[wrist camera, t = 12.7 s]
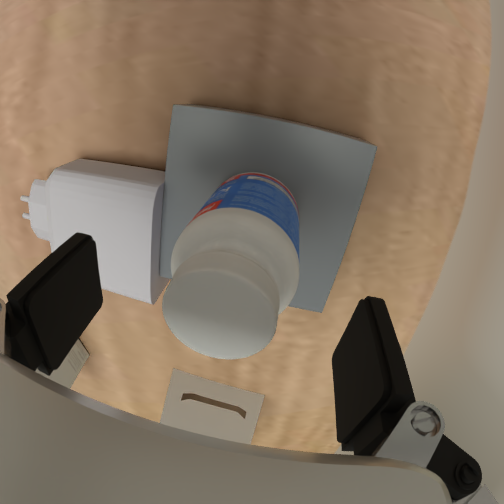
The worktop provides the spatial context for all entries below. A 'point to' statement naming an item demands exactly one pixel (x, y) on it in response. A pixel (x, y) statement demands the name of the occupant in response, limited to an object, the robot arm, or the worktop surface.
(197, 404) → the grater
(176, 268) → the pill bottle
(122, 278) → the charger
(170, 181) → the grey pad
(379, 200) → the worktop surface
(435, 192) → the worktop surface
